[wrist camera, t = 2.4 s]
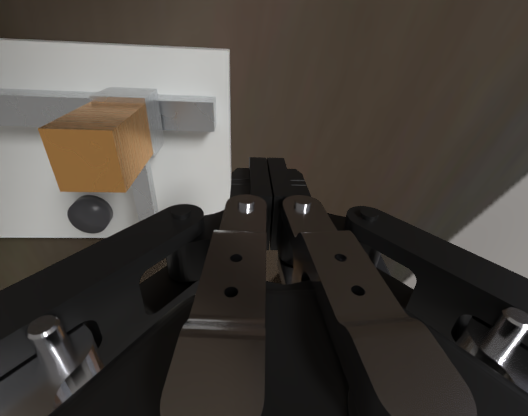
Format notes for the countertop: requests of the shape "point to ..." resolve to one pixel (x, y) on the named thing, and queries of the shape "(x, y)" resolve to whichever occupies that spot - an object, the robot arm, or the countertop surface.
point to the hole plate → (163, 165)
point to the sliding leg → (108, 145)
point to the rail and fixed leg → (62, 102)
